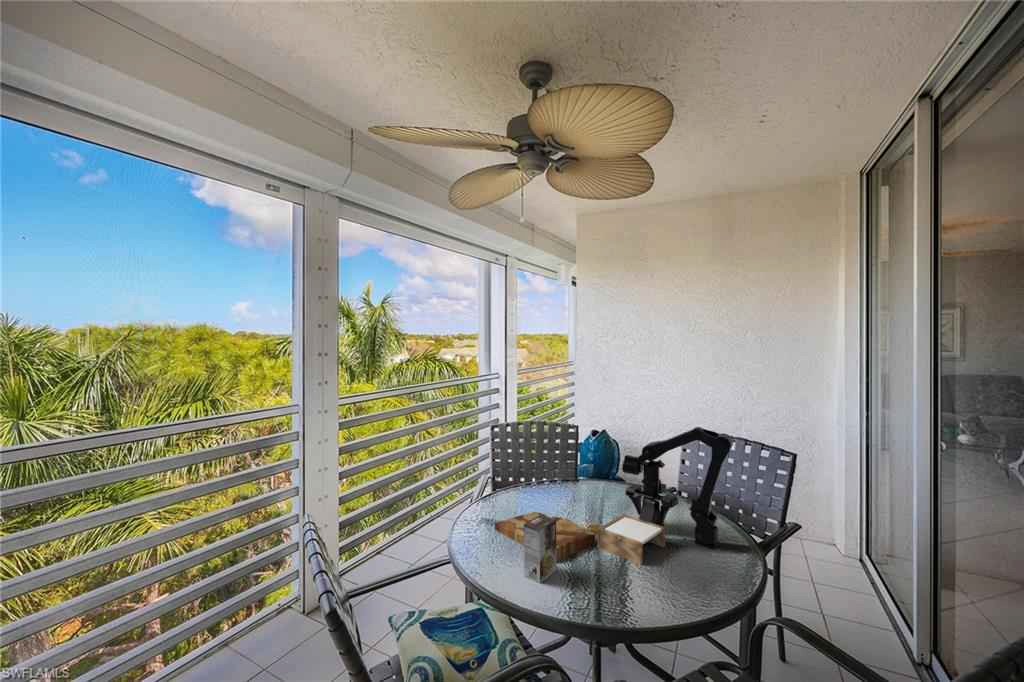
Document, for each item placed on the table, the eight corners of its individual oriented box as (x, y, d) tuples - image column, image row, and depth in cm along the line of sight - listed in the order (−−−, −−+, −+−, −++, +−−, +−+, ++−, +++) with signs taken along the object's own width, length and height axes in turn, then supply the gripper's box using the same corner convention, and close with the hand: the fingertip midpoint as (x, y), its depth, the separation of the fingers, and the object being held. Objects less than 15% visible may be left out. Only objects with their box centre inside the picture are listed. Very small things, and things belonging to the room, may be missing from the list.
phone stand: (653, 524, 169) (653, 493, 169) (665, 530, 163) (665, 499, 163) (636, 529, 165) (636, 497, 165) (647, 536, 159) (647, 503, 159)
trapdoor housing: (665, 545, 152) (665, 527, 152) (640, 565, 139) (640, 544, 139) (623, 531, 163) (623, 514, 163) (597, 547, 150) (597, 529, 150)
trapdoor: (661, 536, 151) (661, 528, 151) (641, 550, 141) (641, 542, 141) (625, 524, 160) (625, 516, 160) (604, 537, 150) (604, 528, 150)
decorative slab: (597, 545, 153) (597, 531, 153) (550, 565, 140) (550, 549, 140) (537, 515, 179) (537, 503, 179) (493, 529, 166) (493, 516, 166)
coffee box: (540, 564, 140) (540, 514, 139) (557, 571, 135) (557, 519, 135) (522, 576, 133) (522, 523, 132) (540, 584, 128) (540, 529, 128)
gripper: (684, 477, 163) (684, 519, 163) (639, 467, 176) (638, 505, 176) (671, 485, 155) (671, 528, 155) (624, 473, 168) (624, 513, 168)
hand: (651, 518), depth 164 cm, fingers open, 9 cm apart
